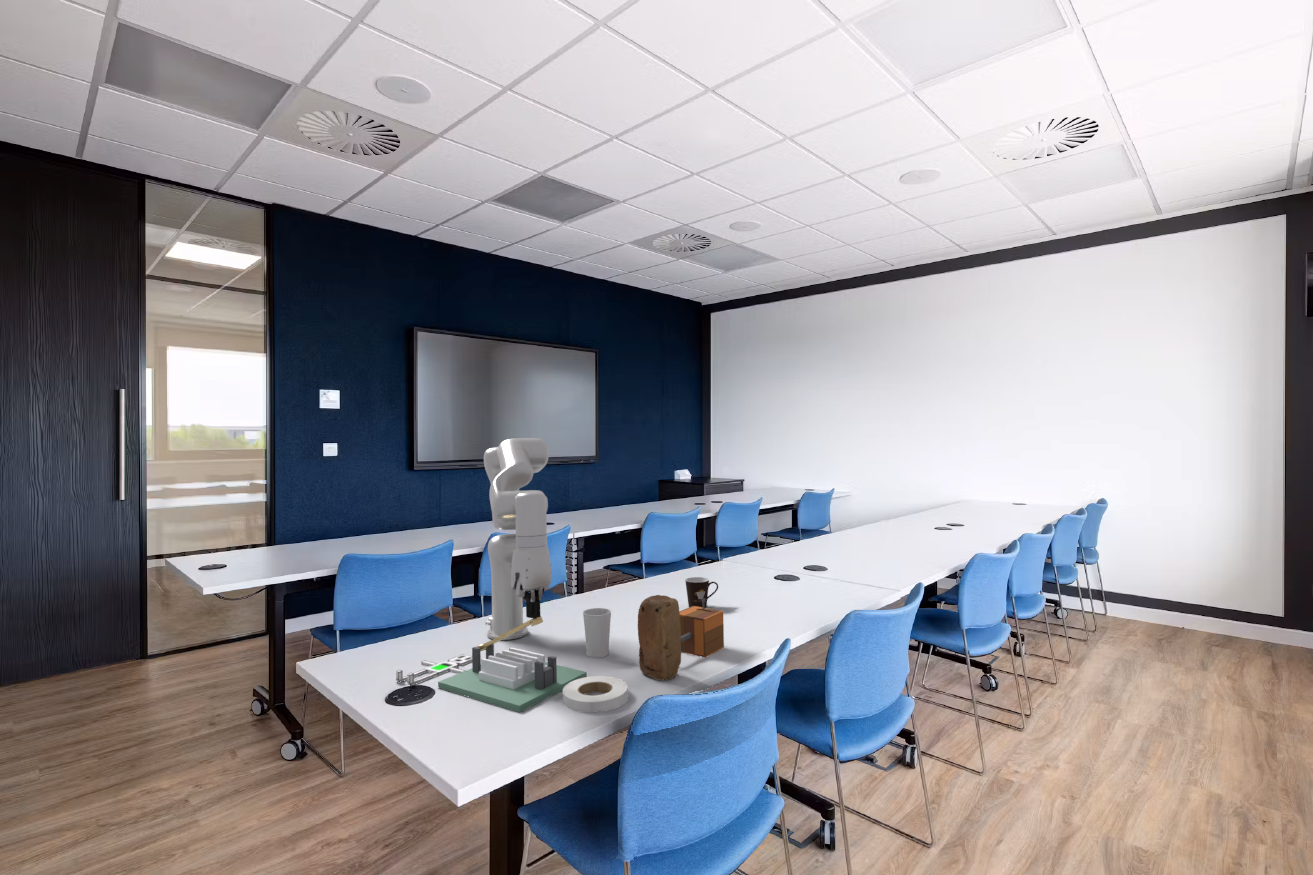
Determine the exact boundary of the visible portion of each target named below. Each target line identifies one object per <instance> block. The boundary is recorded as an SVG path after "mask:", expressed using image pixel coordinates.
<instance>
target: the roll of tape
mask: <svg viewBox="0 0 1313 875" xmlns="http://www.w3.org/2000/svg"><path fill="white" fill-rule="evenodd" d="M598 692H599V693H601V694H598V695H597V694H596V695H593V694H592V695H590V693H598ZM628 700H629V686H628V684H627V682H626V681H625V680H624V679H620V678H618V677H614V676H608V675H595V676H594V675H593V676H587V677H584V678H580V679H577V680H574V681H572V682H570V683H568V684H567V685H566V686H565V687H564V688H563V690H562V704H563V705H564V706H565V707H567V708H568V709H569V710H572V711H576V712H580V711H581V712H582V713H599V712H598V711H602V712H606V711H605V710H608V711H611V710H614V708H615V709H617V708H619V706H620V707H622V706H623V705H625V704H626V703H627V702H628Z"/></svg>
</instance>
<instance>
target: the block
mask: <svg viewBox="0 0 1313 875" xmlns="http://www.w3.org/2000/svg"><path fill="white" fill-rule="evenodd" d="M679 611H680V605H679V601H678V600H677V598H672V597H669V596H668V595H660V594H655V595H650V596H648V597H646V598H645V599H643V600H642V601H641V603H640V605H639V607H638V612H637V613H638V614H637V636H638V637H637V638H638V644H639V648H638V649H639V650H638V657H639V659H638V663H639V669H640V670H639V671H641V672H642V673H643V674H644V675H646V676H648V677H650V678H652V679H654V680H656V681H657V680H658V681H669V680H672V679H675V677H676V676H677V675H678V673H679V669H680V665H681V663H682V662H681V661H682V653H681V628H680V613H679Z"/></svg>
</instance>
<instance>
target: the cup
mask: <svg viewBox="0 0 1313 875" xmlns="http://www.w3.org/2000/svg"><path fill="white" fill-rule="evenodd" d="M582 615H583V616H582V617H583V626H584V633H585V634H584V637H585V647H586V656H587V657H589V658H596V659H597V658H603V657H606V656H609V655H610V651H609V649H610V636H611V634H610V633H611V618H612V610H611V609H609V608H603V607H595V608H589V609H585V610H583V612H582Z"/></svg>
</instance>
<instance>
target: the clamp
mask: <svg viewBox="0 0 1313 875" xmlns="http://www.w3.org/2000/svg"><path fill="white" fill-rule="evenodd" d="M702 602H703V607H697V606H692V607H689V606H688V607H687V608H685V609H682V610H679V613H680V628H681V654H682V653H684V654H687V655H691V654H692V656H697V657H700V656H702V658H708V657H710V656H711V655H714V654H715V653H717V652H719V651H721V650H723V649H724V648H725V640H724V639H725V637H724V636H725V634H724V632H725V630H724V629H725V628H724V627H725V626H724V625H725V624H724V610H722V609H720V610H719V609H714V608H713V609H712V608H707V607H706V608H704V602H705V598H702ZM707 656H708V657H707Z"/></svg>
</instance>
